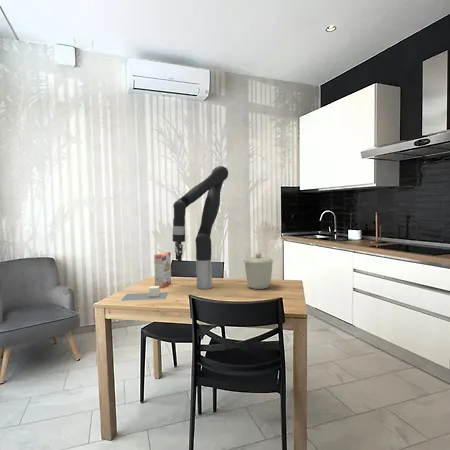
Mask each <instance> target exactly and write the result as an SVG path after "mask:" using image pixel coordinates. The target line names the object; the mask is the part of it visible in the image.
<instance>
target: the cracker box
mask: <svg viewBox="0 0 450 450" xmlns="http://www.w3.org/2000/svg"><path fill="white" fill-rule="evenodd" d="M153 255H154V256H153V257H154V259H153V261H154V262H153V264H154V267H153V268H154V286H159V288H160V289H164V288H166V287H167V286H170V285H171V284H172V271H171V270H172V267H171V265H172V263H171V260H172V259H171V256H172V255H171V251H170V252H169V251H162V252H159V253H156V254H153Z"/></svg>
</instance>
